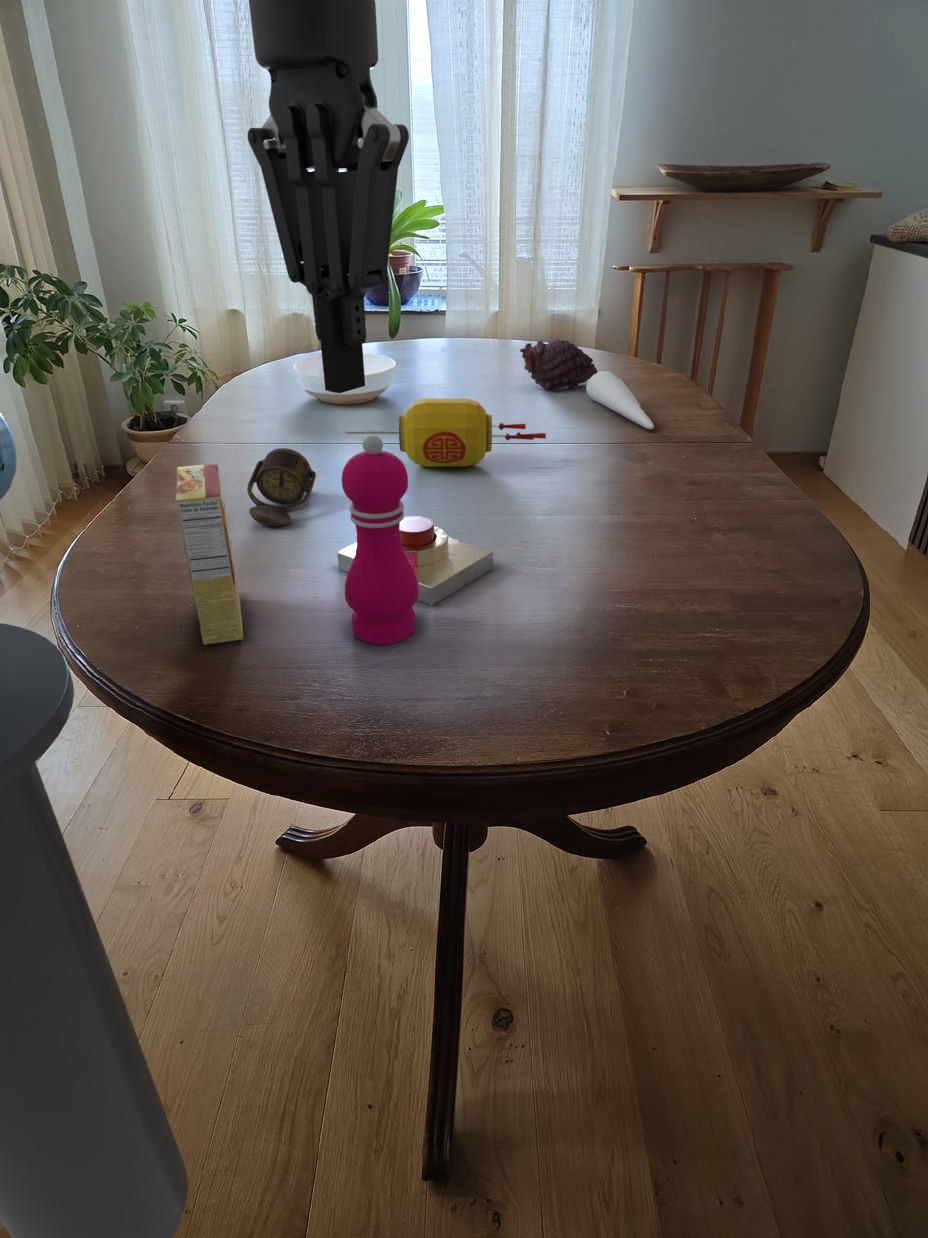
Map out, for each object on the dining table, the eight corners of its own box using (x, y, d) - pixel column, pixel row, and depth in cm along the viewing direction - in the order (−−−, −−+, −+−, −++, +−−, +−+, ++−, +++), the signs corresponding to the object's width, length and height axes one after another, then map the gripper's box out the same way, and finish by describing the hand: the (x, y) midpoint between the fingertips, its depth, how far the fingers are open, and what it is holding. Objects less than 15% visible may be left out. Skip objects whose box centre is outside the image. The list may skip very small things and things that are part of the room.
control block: (338, 569, 91) (335, 537, 89) (402, 536, 98) (400, 506, 96) (432, 606, 83) (431, 572, 81) (492, 568, 91) (493, 536, 89)
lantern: (545, 386, 118) (344, 386, 118) (550, 420, 111) (337, 420, 111) (540, 444, 125) (351, 444, 125) (545, 480, 118) (344, 479, 118)
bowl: (371, 378, 164) (369, 348, 161) (415, 401, 150) (414, 368, 147) (282, 391, 156) (278, 360, 153) (319, 416, 141) (316, 382, 138)
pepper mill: (336, 642, 77) (317, 444, 67) (363, 606, 83) (349, 420, 73) (406, 653, 76) (397, 452, 65) (429, 616, 82) (424, 426, 71)
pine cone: (579, 375, 167) (604, 338, 159) (590, 409, 162) (616, 373, 154) (505, 358, 159) (527, 319, 151) (515, 394, 154) (538, 355, 147)
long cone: (617, 442, 134) (583, 399, 149) (652, 444, 136) (614, 401, 151) (625, 410, 131) (589, 370, 146) (660, 412, 132) (621, 371, 147)
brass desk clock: (339, 460, 106) (278, 434, 109) (284, 483, 96) (217, 454, 98) (331, 508, 110) (272, 482, 112) (277, 535, 99) (213, 507, 102)
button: (387, 541, 89) (386, 525, 87) (412, 529, 91) (412, 512, 90) (416, 552, 86) (416, 535, 85) (442, 538, 89) (441, 522, 88)
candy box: (200, 603, 84) (173, 466, 76) (241, 598, 85) (218, 461, 77) (202, 647, 77) (172, 500, 69) (247, 640, 78) (222, 494, 70)
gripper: (193, -7, 48) (250, 384, 60) (340, -36, 41) (371, 415, 53) (289, 6, 53) (324, 365, 65) (435, -17, 46) (443, 391, 58)
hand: (345, 387), depth 59 cm, fingers closed
